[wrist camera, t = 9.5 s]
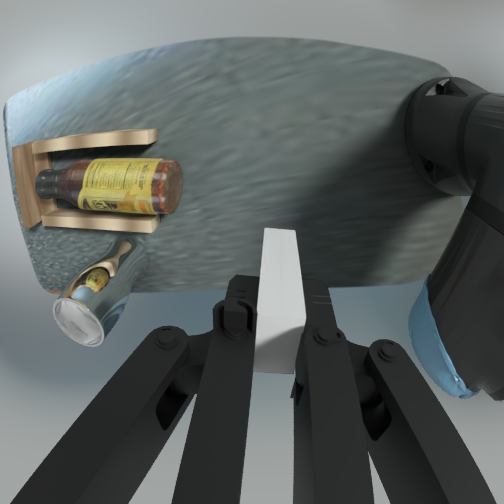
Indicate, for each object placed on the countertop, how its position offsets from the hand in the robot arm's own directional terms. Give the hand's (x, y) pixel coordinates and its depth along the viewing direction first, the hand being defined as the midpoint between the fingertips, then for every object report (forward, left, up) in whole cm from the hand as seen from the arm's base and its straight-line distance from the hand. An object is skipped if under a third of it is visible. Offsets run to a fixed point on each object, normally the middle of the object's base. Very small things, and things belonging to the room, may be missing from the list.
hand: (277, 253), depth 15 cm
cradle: (+24, +1, -20) cm, 31 cm away
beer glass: (+19, +12, -20) cm, 30 cm away
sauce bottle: (+10, +2, -16) cm, 19 cm away
